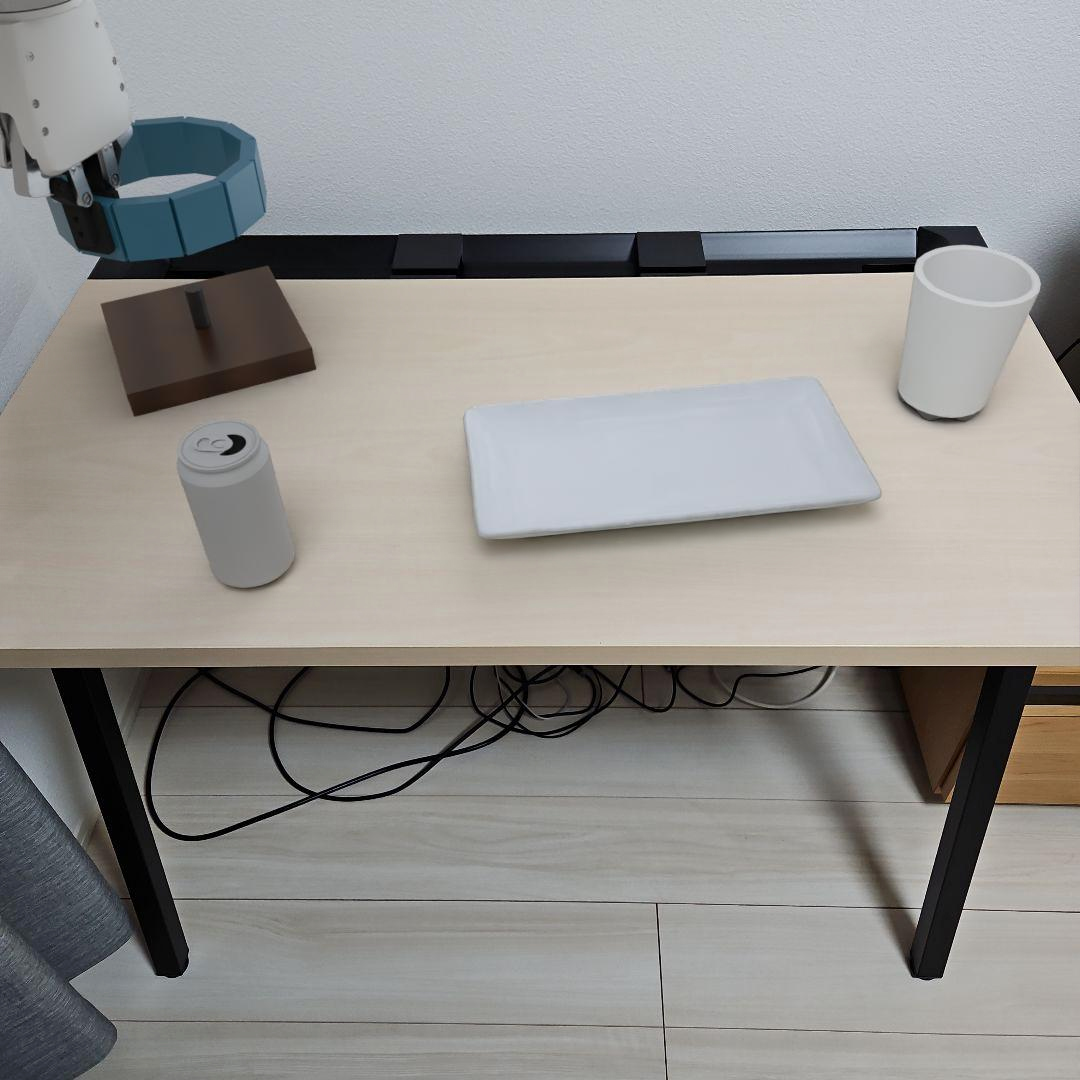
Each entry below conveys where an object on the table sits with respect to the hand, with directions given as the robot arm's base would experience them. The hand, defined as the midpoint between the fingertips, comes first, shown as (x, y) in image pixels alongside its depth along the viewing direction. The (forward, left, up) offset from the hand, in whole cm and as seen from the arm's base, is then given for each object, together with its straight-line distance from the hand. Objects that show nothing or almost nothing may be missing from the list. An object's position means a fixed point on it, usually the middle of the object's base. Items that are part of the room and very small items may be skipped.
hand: (104, 243), depth 79 cm
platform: (+6, +13, -19) cm, 24 cm away
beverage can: (+3, -19, -19) cm, 27 cm away
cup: (+64, -25, -19) cm, 71 cm away
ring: (+5, +5, -1) cm, 8 cm away
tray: (+36, -24, -19) cm, 47 cm away
